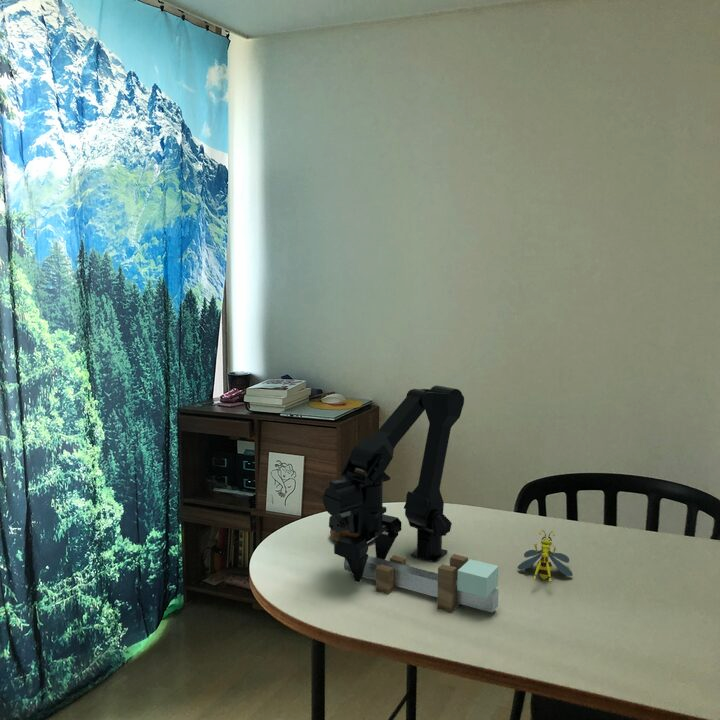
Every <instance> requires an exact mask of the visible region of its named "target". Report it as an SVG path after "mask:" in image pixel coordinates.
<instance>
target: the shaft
mask: <svg viewBox="0 0 720 720" xmlns="http://www.w3.org/2000/svg"><path fill="white" fill-rule="evenodd" d="M380 565H384V566H388V567H392V568H394V578H393V585H395V586H398V587H399V588H402V589H405V590H409V591H413V592H416V593H421V594H424V595H428V596H431V597H435V598H438V572H433V571H430V570H425V569H421V568H418V567H413V566H410V565H407V564H406V565H403V564H399V563H395V562H391V561H389V560H388V559H385V560H383V559H380V558H376V556H371V555H368V559H367V562H366V565H365V569H364V572H363V576H362V578H367V579H369V580H370V579H371V580H373V581H376V568H377V567H378V566H380ZM343 568H344V570H345V571H346V572H349V573H351V574H352V571H351V569H350V566H349V564H348V562H347V560H346V559H345V558H344V561H343ZM352 575H353V574H352ZM398 587H397V588H398ZM499 590H500V589H499V588H497V587H496V588H495V589H494V590H493V591H492V592H491V593H490V595H489V596H488V597H487V598H485V597H481V596H478V595H474V594H470V593H466V592H463V591H459V590H457V578H456V603H459V605H463V606H466V607H467V606H468V607H471V608H474V609H477V610H481V611H485V612H488V613H492V614H493V613H494V611H495V610H496V609H497V608H498V607H499Z"/></svg>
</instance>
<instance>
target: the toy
mask: <svg viewBox="0 0 720 720" xmlns="http://www.w3.org/2000/svg"><path fill="white" fill-rule="evenodd" d="M542 532H543V533H544V536H543V537H542V538H541V542H540V543H541V549H540V550H538V546H537V545H538V543H535V544H534V545H533V547H534V548H535V549H529V550H527V551H525V552H524V554H523V558H529V559H527V560H525V561H523V562H521V563H520V564H519V565H518V566H517V569H518V570H521V571H522V570H527V569H529V568H531V567H532V566H533V565H534V564H535V563H536V562H537V561H538V562H537V563H536V569H535V572H534V576H532V579H533V580H537V579H536V576H537V575H538V574H539V576H540V578H541V579H542V581H545V580H546V579H547V578H548V582H552V577H551V576H552V575H551V573H552V569H553V565H552V563H553V564H554V566H555V567H556V568H557V569H558V570H559V572H560V573H562V574H563V575H565V576H567V577H572V576H573V574H574V573H573V572H572V571H571V570H570V569H569V568H568V567H567V566H566V565H565V564H564V563H566V564H569V562H570V557H569V556H567V554H564V553H561V552H556V550H557V547H556V546H555V545H553V539H552V538H551V537H550V536H551V534H552V536H553V537H554V536H556V535H555V531H554V530H553V531H550V532H549V534H548V536H547V534H546V531H545V530H543V529H540V531H539V535H542ZM552 545H553V551H551V546H552ZM549 558H550V559H549ZM550 560H551V561H550ZM562 562H564V563H562Z"/></svg>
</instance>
